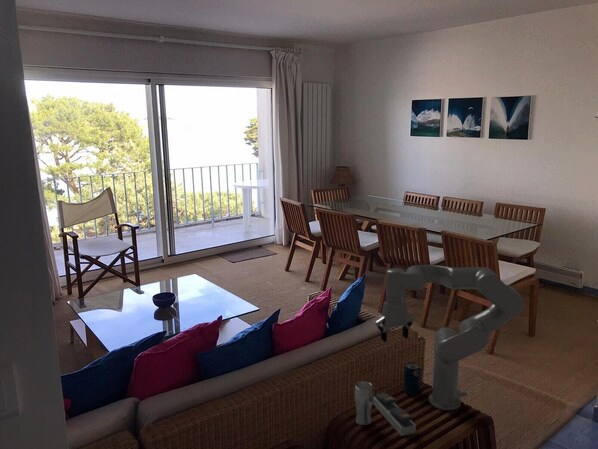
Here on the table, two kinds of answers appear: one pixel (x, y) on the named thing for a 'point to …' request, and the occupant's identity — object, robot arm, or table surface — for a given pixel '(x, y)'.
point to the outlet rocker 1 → (386, 398)
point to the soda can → (412, 378)
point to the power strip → (394, 417)
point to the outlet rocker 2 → (401, 414)
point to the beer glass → (363, 402)
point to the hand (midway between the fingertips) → (394, 339)
